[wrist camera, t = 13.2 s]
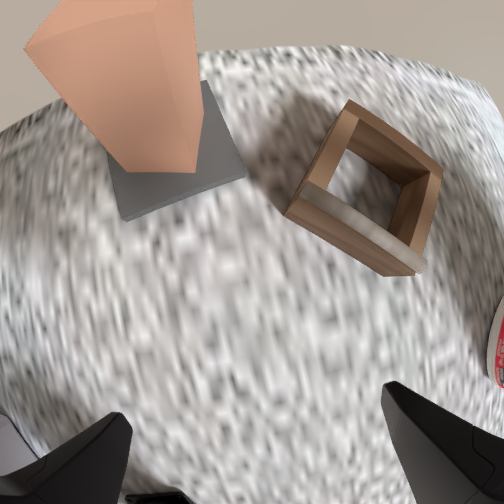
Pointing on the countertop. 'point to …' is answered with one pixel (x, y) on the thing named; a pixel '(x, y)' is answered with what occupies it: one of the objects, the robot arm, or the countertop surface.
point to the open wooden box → (353, 222)
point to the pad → (181, 184)
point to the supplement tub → (496, 348)
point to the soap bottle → (12, 448)
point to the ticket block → (128, 77)
